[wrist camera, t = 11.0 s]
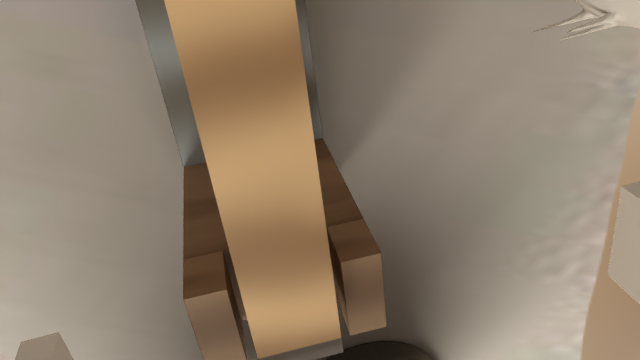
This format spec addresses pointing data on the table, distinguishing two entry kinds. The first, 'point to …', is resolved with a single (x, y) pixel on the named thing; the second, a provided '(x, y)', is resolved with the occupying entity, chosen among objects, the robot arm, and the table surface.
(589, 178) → the table surface
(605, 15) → the cat head
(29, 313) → the table surface
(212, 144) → the bed rail
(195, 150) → the wooden u-shaped stand
